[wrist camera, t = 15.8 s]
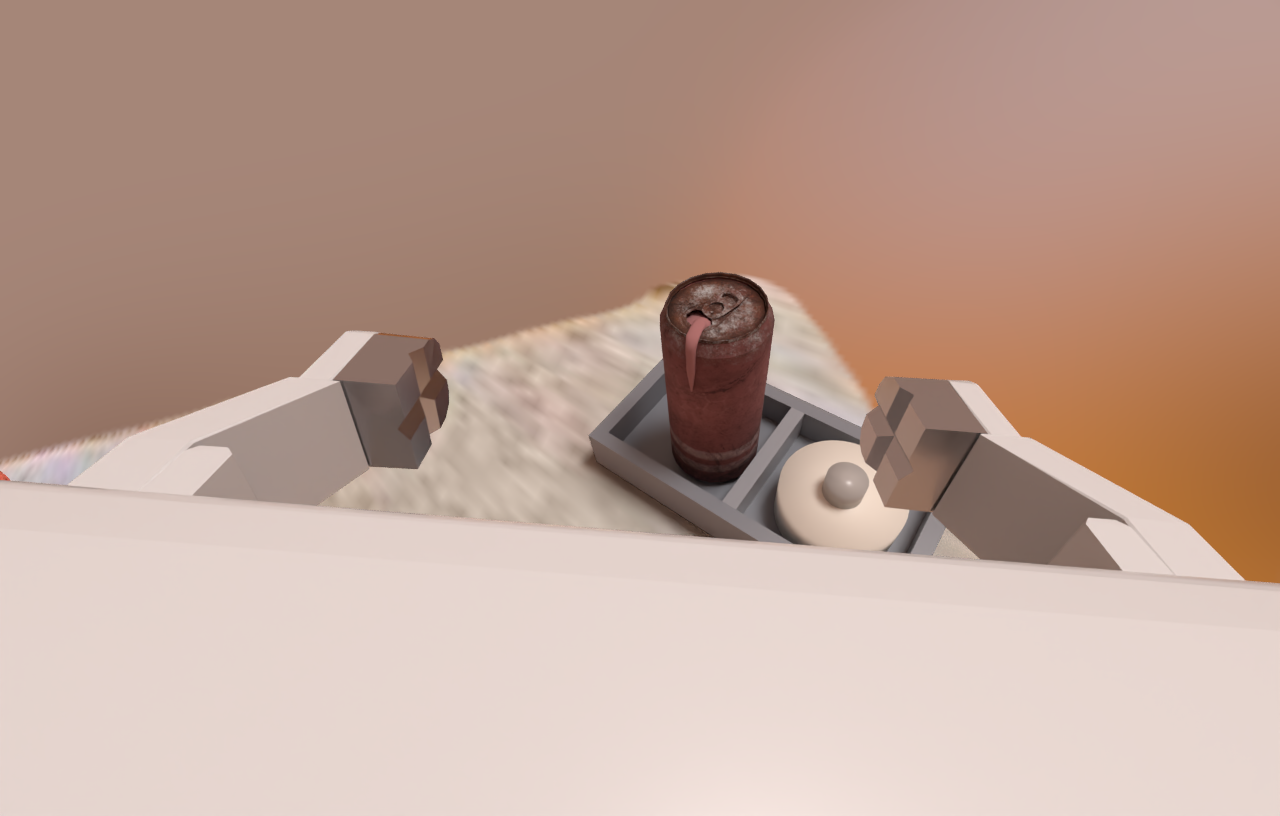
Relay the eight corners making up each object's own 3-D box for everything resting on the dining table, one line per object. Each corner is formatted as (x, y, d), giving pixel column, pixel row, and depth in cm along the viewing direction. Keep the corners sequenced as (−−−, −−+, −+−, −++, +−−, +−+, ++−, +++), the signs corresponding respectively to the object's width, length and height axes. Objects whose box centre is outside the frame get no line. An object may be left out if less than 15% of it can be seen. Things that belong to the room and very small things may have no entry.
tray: (596, 461, 40) (588, 435, 37) (680, 371, 45) (678, 342, 42) (881, 644, 30) (898, 627, 28) (948, 504, 35) (969, 477, 32)
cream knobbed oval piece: (752, 526, 34) (757, 493, 31) (807, 446, 38) (817, 408, 34) (864, 595, 31) (884, 566, 28) (914, 500, 34) (937, 464, 31)
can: (660, 477, 37) (640, 336, 26) (686, 409, 41) (678, 260, 30) (744, 499, 36) (760, 358, 25) (764, 426, 39) (786, 275, 28)
